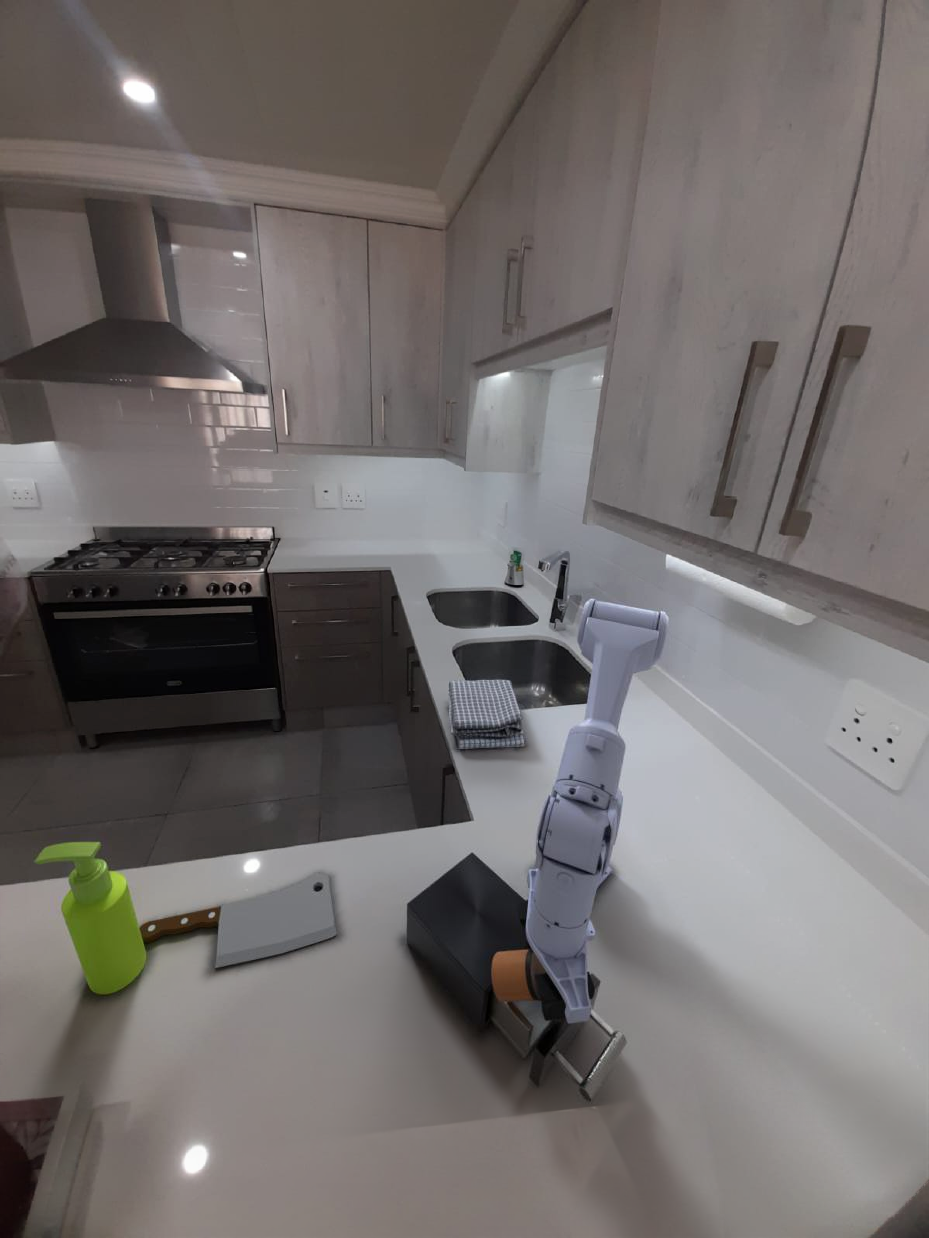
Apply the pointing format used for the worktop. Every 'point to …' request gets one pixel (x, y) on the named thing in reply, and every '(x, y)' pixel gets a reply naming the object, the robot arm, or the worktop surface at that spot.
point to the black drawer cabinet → (465, 931)
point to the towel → (485, 714)
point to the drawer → (553, 1039)
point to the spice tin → (516, 975)
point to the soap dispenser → (99, 918)
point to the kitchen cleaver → (260, 922)
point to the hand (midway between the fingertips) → (545, 985)
